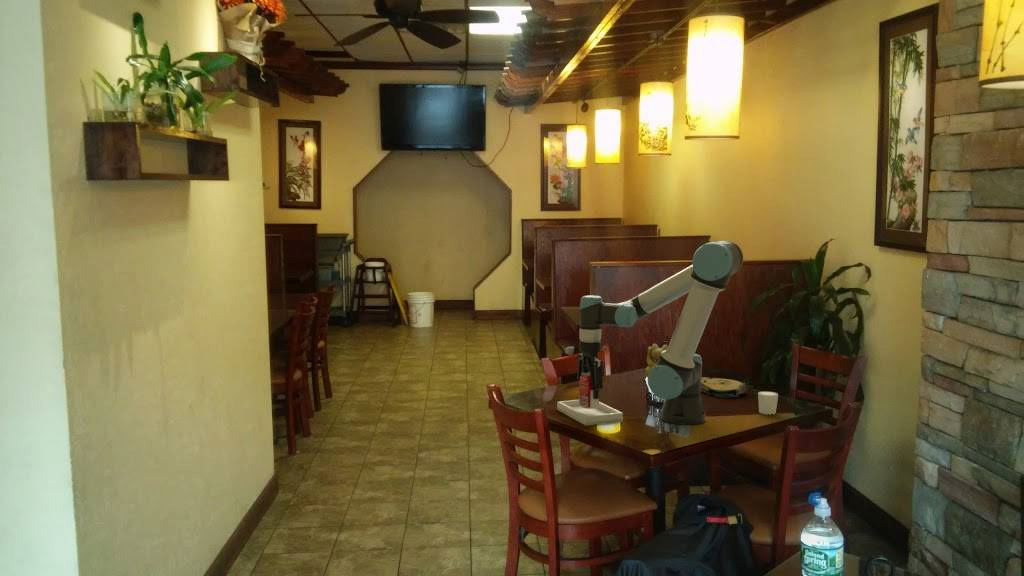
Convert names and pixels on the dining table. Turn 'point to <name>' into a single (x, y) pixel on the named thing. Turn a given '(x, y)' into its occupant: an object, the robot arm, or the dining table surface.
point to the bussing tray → (589, 413)
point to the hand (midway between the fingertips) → (589, 405)
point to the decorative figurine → (654, 356)
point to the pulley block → (722, 387)
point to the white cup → (767, 402)
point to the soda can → (585, 390)
